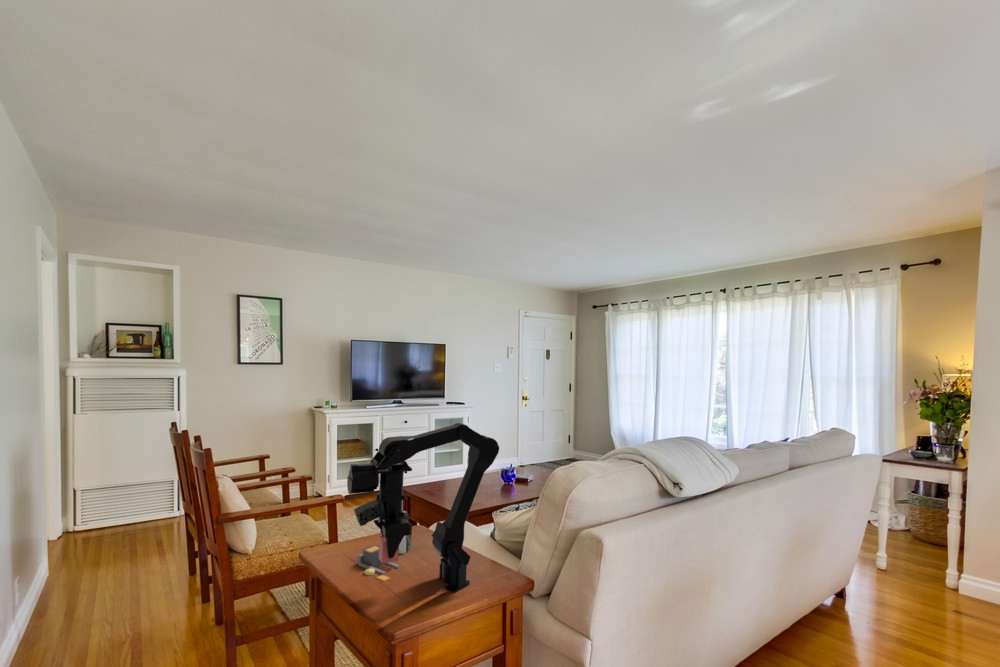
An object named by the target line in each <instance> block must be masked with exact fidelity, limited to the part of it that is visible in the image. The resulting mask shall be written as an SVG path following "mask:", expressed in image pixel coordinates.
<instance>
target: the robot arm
mask: <svg viewBox="0 0 1000 667" xmlns="http://www.w3.org/2000/svg"><path fill="white" fill-rule="evenodd" d="M457 441H458V442H459V441H461V442H462V443H463V444H464V445H466V446H468V447H469V448H468V453H467V466H466V470H465V472H464V475H463V478H462V480H461V482H460V486H459V488H458V490H457V493H456V495H455V497H454V500H453V503H452V505H451V507H450V511H449V514H448V516H447V518H446V519H445V520H444V521H442V522H441V521H437V522H436V526H435V529H434V531H433V533H432V534H431V537H432V541H431V543H432V546H433V549H434V550H435V551H436V552H437V553H438V555H439V556H440V557H441V559H440V563H439V573H438V574H439V577H438V579H440V580H441V581H442V583H444V584H446V586H444V587H443V589H444V590H445V589H446V590H448V591H450V592H453V593H456V592H458V591H459V590H461V589H463V588H464V587H466V586H468V585H470V583H471V582H470V580H467V566H468V565H469V563H470V560H471V555H470V554H469V553H468V552H467V551H466V550H464V549H463V544H464V541H465V524H466V521H467V518H468V516H469V513H470V511H471V508H472V506H473V502H474V499H475V497H476V495H477V492H478V491H479V490H478V489H479V487H480V484H481V482H482V480H483V476H484V474H485V472H486V471H487V470H488V469H489V468H490V467H491V466H492V465H493V463H494V461H495V460H496V458H497V456H498V454H499V451H500V445H499V443H498V441H497V440H496V439H494V438H493V437H489V436H486V435H483V434H480V433H479V432H478V431H475V430H473V429H472V428H470V427H469V426H468V425H467V424H465V423H462V422H455V423H454V424H452V425H449V426H444V427H441V428H436V429H433V430H430V431H427V432H422V433H419V434H416V435H398V436H397V435H396V436H389V437H385V438H384V439H382V440H381V442H380V444H379V446H378V451H377V452H376V453H375V454H374V456H373V457H372V459H371V460H370V461H369V463H363V464H358V463H353V464H352V463H351V464H350V466H349V467H350V468H349V471H348V476H347V478H346V481H347V482H346V483H347V484H346V486H347V492H348V495H357V494H366V493H373V492H375V490H377V489H378V487H379V489H378V490H379V491H378V492H377V493H376V495H375V499H374V500H371V501H367V502H366V503H365V504H362V505H359V506H358V507H357V506H356V507H355V508H354V509H353V511H354V512H353V513H354V514H355V517H356V520H357V523H358V525H359V526H360V527H363V526H365V525H367V524H368V523H370V522H372V521H373V523H374V524H375V526H376V527H377V528H378V529H379V532H380V537H381V536H384V537H385V538H386V543H387V551H388V558H393V557H394V555H395V553H396V551H397V549H398V547H399V545H400V543H401V541H402V539H403V537H404V536H408V535H411V536H412V534H413V533H412V532H413V525H412V524H411V523H410V522H409V520H408V521H407V520H406V519H405V518H404V519H399V517H404V512H405V511H404V510H403V501H405V499H406V498H405V497H406V496H405V494H404V472H412V471H413V468H412V467H411V466H410V465H409V464H408V463H407V460H409V459H411V458H412V457H414V456H415V455H416V454H418V453H420V452H423V451H427V450H430V449H434V448H437V447H441V446H444V445H447V444H450V443H454V442H457ZM403 511H404V512H403Z"/></svg>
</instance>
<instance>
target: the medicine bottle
mask: <svg viewBox="0 0 1000 667" xmlns="http://www.w3.org/2000/svg"><path fill="white" fill-rule="evenodd" d="M402 511H403V512H404V517H399V519H404V518H405V519H406V520H407V521H408V522H409V513H408V512H407V511H405V510H402ZM411 546H412V534H411V535H408V536H404V537H403V539H402V541H401V543H400V545H399V554H405V555H406V554H407V553H408V552H409V550H410V548H411Z"/></svg>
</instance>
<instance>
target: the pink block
mask: <svg viewBox="0 0 1000 667" xmlns="http://www.w3.org/2000/svg"><path fill="white" fill-rule="evenodd" d="M378 547H379V559H380V561H381V563H382V564H384V563H389V562H391V563H394V562H395V563H396V562H399V559H400V558H399V554H400V553H399V547H398V549H397V551H396V553H395V555H394V557H393V558H388V551H387V543H386V538H385V537H384V536H381V535H380V536H379V537H378Z"/></svg>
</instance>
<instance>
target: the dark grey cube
mask: <svg viewBox="0 0 1000 667" xmlns="http://www.w3.org/2000/svg"><path fill="white" fill-rule="evenodd" d="M362 552H363V553H362V554H363V563H364V564H366V565H369V566H372V567H374V568H375V567H376V566H378V565H379V566H382V565H383V563H381V561H380V559H379V546H377V545H372V546H369V547H365V548H364V549H363V550H362ZM376 568H377V567H376Z"/></svg>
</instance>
